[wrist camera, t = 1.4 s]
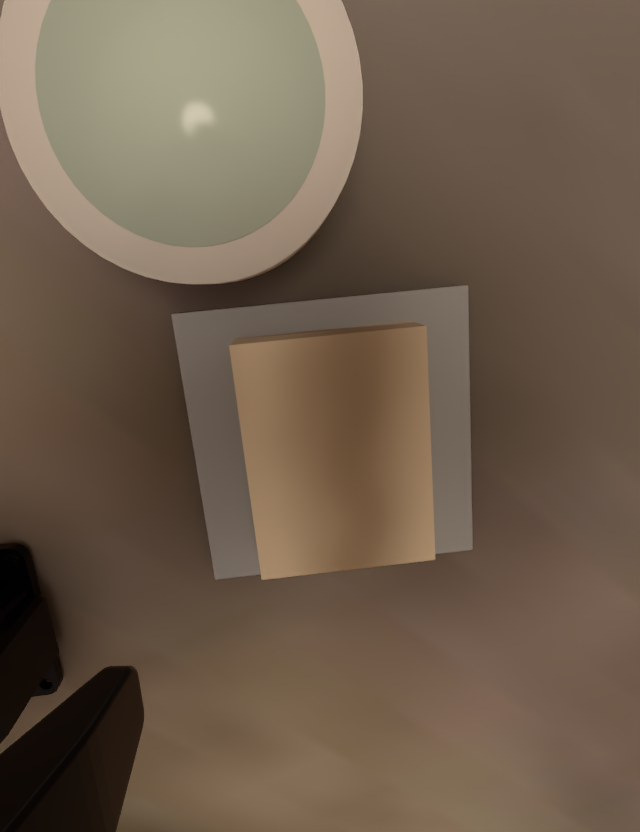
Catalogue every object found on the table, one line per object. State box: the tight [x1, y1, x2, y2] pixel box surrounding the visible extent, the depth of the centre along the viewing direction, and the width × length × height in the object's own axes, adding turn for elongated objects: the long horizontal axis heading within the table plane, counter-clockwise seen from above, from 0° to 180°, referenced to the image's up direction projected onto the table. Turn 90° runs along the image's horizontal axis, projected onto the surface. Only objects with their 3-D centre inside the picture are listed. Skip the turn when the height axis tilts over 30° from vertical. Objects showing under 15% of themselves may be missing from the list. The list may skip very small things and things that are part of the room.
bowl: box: [0, 0, 363, 284], centre depth 14 cm, size 8×8×5 cm
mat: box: [171, 285, 473, 580], centre depth 19 cm, size 10×10×1 cm
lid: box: [229, 321, 435, 580], centre depth 17 cm, size 6×8×2 cm
